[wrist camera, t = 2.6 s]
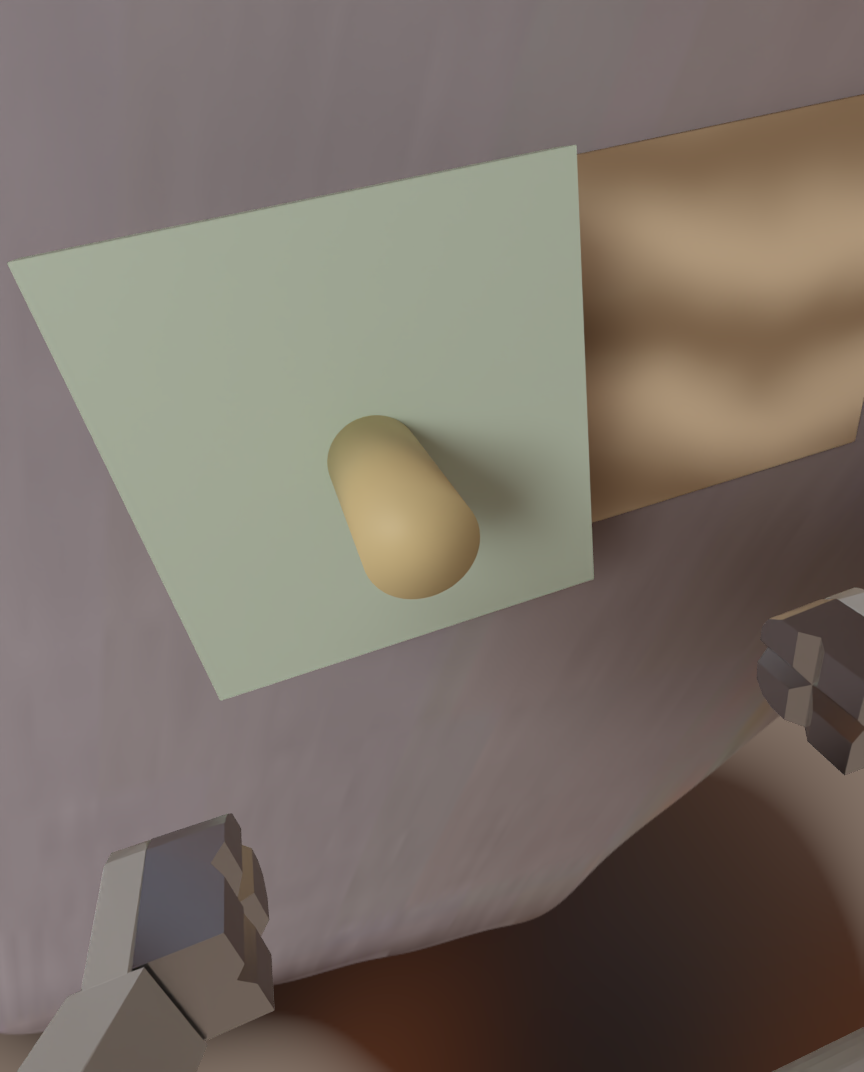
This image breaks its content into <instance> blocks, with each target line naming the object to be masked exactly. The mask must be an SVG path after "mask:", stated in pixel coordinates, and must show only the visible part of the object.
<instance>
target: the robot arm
mask: <svg viewBox="0 0 864 1072" xmlns="http://www.w3.org/2000/svg"><path fill="white" fill-rule="evenodd" d="M760 640H761V641H762V642H763V643H764V644H765V645H766V646H767V647H768V648H767V649H766V651H765V652H764V654H763V655H762V656H761V658H760V659H759V661H758V666H757V680H758V683H759V686H760V689H761V691H762V694H763V696H764V697H765V699H766V700H767V702H768V703H769V704H770V706H771V707H772V708H773V709H774V710H775V711H776V712H777V713H778V714H779V715H780V716H781V717H782V718H783V719H784V720H787V721H790V722H792V723H795V724H798V725H801V726H804V727H805V731H806V736H807V741H808V742H809V743H810V744H811V745H812V746H813V747H814V748H815V749H816V750H818V751H819V752H820V753H821V754H822V755H823V756H824V757H825V758H826V759H827V760H828V761H830V762H831V763H832V764H833V765H834V766H835V767H836V768H837V769H838V770H839V771H840V772H841V773H842V774H844V775H847V774H850V773H852V772H855V771H858V770H860V769H863V768H864V589H861V588H856V587H855V588H852V589H849V590H846V591H844V592H841V593H838V594H835V595H833V596H830V597H827V598H825V599H821V600H818V601H815V602H812V603H810V604H807V605H804V606H802V607H799V608H796V609H794V610H791V611H788V612H786V613H783V614H780V615H778V616H775V617H772V618H769V619H768V620H767V621H766V623H765V624H764V625H763V627H762V632H761V639H760ZM268 921H269V911H268V898H267V893H266V888H265V883H264V877H263V874H262V871H261V868H260V865H259V862H258V859H257V857H256V855H255V854H254V852H253V850H252V848H249V847H246V846H243V845H242V840H241V827H240V826H239V824H238V822H237V821H236V819H235V817H234V816H233V814H225V815H222V816H219V817H216V818H213V819H210V820H207V821H204V822H201V823H198V824H195V825H192V826H189V827H186V828H183V829H180V830H177V831H174V832H171V833H168V834H165V835H162V836H159V837H156V838H153V839H151V840H148V841H145V842H142V843H139V844H136V845H133V846H130V847H128V848H125V849H122V850H119V851H116V852H113V853H111V855H110V857H109V858H108V860H107V862H106V864H105V866H104V868H103V874H102V879H101V885H100V890H99V895H98V901H97V906H96V912H95V917H94V923H93V928H92V933H91V939H90V944H89V950H88V955H87V960H86V966H85V971H84V977H83V982H82V988H81V991H79V992H77V993H75V994H72V995H70V996H68V997H67V998H66V1000H65V1001H64V1003H63V1004H62V1006H61V1007H60V1009H59V1010H58V1012H57V1013H56V1015H55V1016H54V1018H53V1019H52V1020H51V1022H50V1023H49V1025H48V1026H47V1028H46V1029H45V1031H44V1032H43V1034H42V1035H41V1037H40V1038H39V1040H38V1041H37V1043H36V1044H35V1046H34V1047H33V1049H32V1050H31V1052H30V1053H29V1055H28V1056H27V1058H26V1059H25V1061H24V1062H23V1064H22V1065H21V1067H20V1068H19V1069H18V1071H17V1072H197V1069H198V1067H199V1064H200V1062H201V1059H202V1057H203V1055H204V1052H205V1050H206V1047H207V1044H206V1043H205V1041H206V1040H209V1039H211V1038H213V1037H215V1036H218V1035H220V1034H222V1033H224V1032H227V1031H229V1030H231V1029H233V1028H236V1027H238V1026H240V1025H242V1024H245V1023H247V1022H249V1021H251V1020H253V1019H256V1018H258V1017H260V1016H263V1015H265V1014H267V1013H269V1012H272V1011H274V995H273V976H272V958H271V953H270V951H269V950H268V948H267V946H266V945H265V943H264V941H263V939H262V938H261V935H262V933H263V931H264V929H265V927H266V925H267V923H268ZM773 1072H864V1027H863V1028H861V1029H859V1030H857V1031H855V1032H853V1033H851V1034H849V1035H847V1036H845V1037H843V1038H841V1039H839V1040H837V1041H834V1042H833V1043H830V1044H828V1045H826V1046H824V1047H822V1048H820V1049H819V1050H816V1051H814V1052H812V1053H810V1054H808V1055H806V1056H804V1057H802V1058H800V1059H798V1060H796V1061H794V1062H792V1063H790V1064H788V1065H785V1066H783V1067H781V1068H779V1069H777V1070H775V1071H773Z"/></svg>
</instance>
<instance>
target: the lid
mask: <svg viewBox="0 0 864 1072" xmlns="http://www.w3.org/2000/svg"><path fill="white" fill-rule="evenodd" d="M7 264H8V266H9V268H10V270H11V272H12V274H13V276H14V278H15V280H16V282H17V284H18V286H19V288H20V290H21V293H22V295H23V297H24V299H25V301H26V303H27V305H28V307H29V309H30V311H31V313H32V315H33V317H34V319H35V321H36V323H37V325H38V327H39V329H40V332H41V334H42V336H43V338H44V340H45V342H46V344H47V346H48V348H49V350H50V352H51V354H52V356H53V358H54V360H55V362H56V364H57V366H58V368H59V371H60V373H61V375H62V377H63V379H64V381H65V383H66V385H67V387H68V389H69V391H70V393H71V395H72V397H73V399H74V401H75V403H76V405H77V407H78V410H79V412H80V414H81V416H82V418H83V420H84V422H85V424H86V426H87V428H88V430H89V432H90V434H91V436H92V438H93V440H94V442H95V444H96V446H97V448H98V451H99V453H100V455H101V457H102V459H103V461H104V463H105V465H106V467H107V469H108V471H109V473H110V475H111V477H112V479H113V481H114V483H115V485H116V487H117V490H118V492H119V494H120V496H121V498H122V500H123V502H124V504H125V506H126V508H127V510H128V512H129V514H130V516H131V518H132V520H133V522H134V524H135V526H136V529H137V531H138V533H139V535H140V537H141V539H142V541H143V543H144V545H145V547H146V549H147V551H148V553H149V555H150V557H151V559H152V561H153V563H154V565H155V568H156V570H157V572H158V574H159V576H160V578H161V580H162V582H163V584H164V586H165V588H166V590H167V592H168V594H169V596H170V598H171V600H172V602H173V604H174V607H175V609H176V611H177V613H178V615H179V617H180V619H181V621H182V623H183V625H184V627H185V629H186V631H187V633H188V635H189V637H190V639H191V641H192V643H193V645H194V648H195V650H196V652H197V654H198V656H199V658H200V660H201V662H202V664H203V666H204V668H205V670H206V672H207V674H208V676H209V678H210V680H211V682H212V684H213V687H214V689H215V691H216V693H217V695H218V697H219V699H220V701H222V700H225V699H228V698H231V697H234V696H237V695H240V694H243V693H246V692H249V691H252V690H255V689H258V688H262V687H265V686H268V685H271V684H274V683H277V682H280V681H283V680H286V679H289V678H292V677H295V676H298V675H301V674H304V673H308V672H311V671H314V670H317V669H320V668H323V667H326V666H329V665H332V664H335V663H338V662H341V661H344V660H347V659H350V658H353V657H357V656H360V655H363V654H366V653H369V652H372V651H375V650H378V649H381V648H384V647H387V646H390V645H393V644H396V643H399V642H403V641H406V640H409V639H412V638H415V637H418V636H421V635H424V634H427V633H430V632H433V631H436V630H439V629H442V628H445V627H448V626H452V625H455V624H458V623H461V622H464V621H467V620H470V619H473V618H476V617H479V616H482V615H485V614H488V613H491V612H494V611H498V610H501V609H504V608H507V607H510V606H513V605H516V604H519V603H522V602H525V601H528V600H531V599H534V598H537V597H540V596H543V595H547V594H550V593H553V592H556V591H559V590H562V589H565V588H568V587H571V586H574V585H577V584H580V583H583V582H586V581H589V580H593V579H594V567H593V542H592V518H591V493H590V468H589V443H588V418H587V393H586V369H585V344H584V319H583V294H582V269H581V244H580V220H579V195H578V170H577V145H570V146H561V147H555V148H550V149H545V150H540V151H535V152H530V153H526V154H521V155H516V156H511V157H506V158H501V159H497V160H492V161H487V162H482V163H477V164H472V165H468V166H463V167H458V168H453V169H448V170H443V171H438V172H434V173H429V174H424V175H419V176H414V177H409V178H405V179H400V180H395V181H390V182H385V183H380V184H376V185H371V186H366V187H361V188H356V189H351V190H347V191H342V192H337V193H332V194H327V195H322V196H317V197H313V198H308V199H303V200H298V201H293V202H288V203H284V204H279V205H274V206H269V207H264V208H259V209H255V210H250V211H245V212H240V213H235V214H230V215H225V216H221V217H216V218H211V219H206V220H201V221H196V222H192V223H187V224H182V225H177V226H172V227H167V228H163V229H158V230H153V231H148V232H143V233H138V234H133V235H129V236H124V237H119V238H114V239H109V240H104V241H100V242H95V243H90V244H85V245H80V246H75V247H71V248H66V249H61V250H56V251H51V252H46V253H41V254H37V255H32V256H27V257H22V258H18V259H16V260H13V261H10V262H7Z"/></svg>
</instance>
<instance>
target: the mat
mask: <svg viewBox="0 0 864 1072" xmlns="http://www.w3.org/2000/svg"><path fill="white" fill-rule="evenodd" d="M577 170H578V195H579V220H580V244H581V269H582V294H583V319H584V344H585V369H586V393H587V418H588V443H589V468H590V493H591V518H592V523H593V522H597V521H600V520H603V519H606V518H610V517H613V516H616V515H619V514H622V513H626V512H629V511H632V510H635V509H638V508H642V507H645V506H648V505H651V504H655V503H658V502H661V501H664V500H667V499H671V498H674V497H677V496H680V495H684V494H687V493H690V492H693V491H696V490H700V489H703V488H706V487H709V486H712V485H716V484H719V483H722V482H725V481H729V480H732V479H735V478H738V477H741V476H745V475H748V474H751V473H754V472H758V471H761V470H764V469H767V468H770V467H774V466H777V465H780V464H783V463H786V462H790V461H793V460H796V459H799V458H803V457H806V456H809V455H812V454H815V453H819V452H822V451H825V450H828V449H831V448H835V447H838V446H841V445H844V444H848V443H851V442H854V441H855V438H856V433H857V428H858V423H859V418H860V413H861V408H862V403H863V398H864V94H862V95H857V96H852V97H848V98H843V99H838V100H833V101H829V102H824V103H819V104H814V105H809V106H805V107H800V108H795V109H790V110H786V111H781V112H776V113H771V114H766V115H762V116H757V117H752V118H747V119H743V120H738V121H733V122H728V123H724V124H719V125H714V126H709V127H704V128H700V129H695V130H690V131H685V132H681V133H676V134H671V135H666V136H662V137H657V138H652V139H647V140H642V141H638V142H633V143H628V144H623V145H619V146H614V147H609V148H604V149H600V150H595V151H590V152H585V153H580V154H577Z"/></svg>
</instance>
